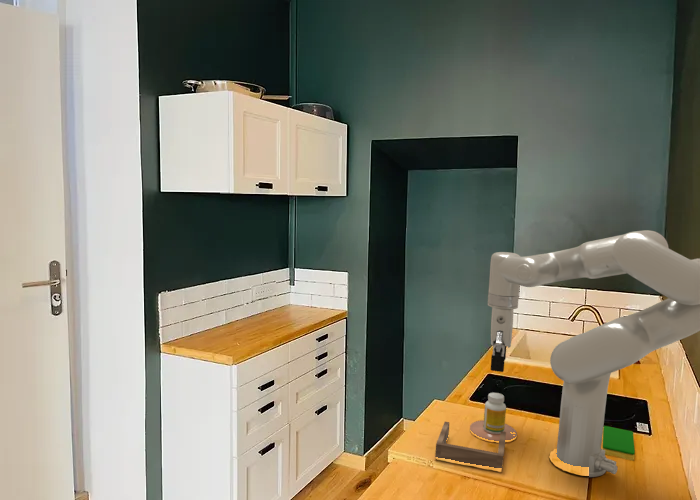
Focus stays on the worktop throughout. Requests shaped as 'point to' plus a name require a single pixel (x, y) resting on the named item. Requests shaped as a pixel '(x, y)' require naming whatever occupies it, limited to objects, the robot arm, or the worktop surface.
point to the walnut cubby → (469, 451)
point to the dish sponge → (618, 443)
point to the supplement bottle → (494, 414)
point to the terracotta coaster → (479, 431)
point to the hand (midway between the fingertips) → (498, 365)
